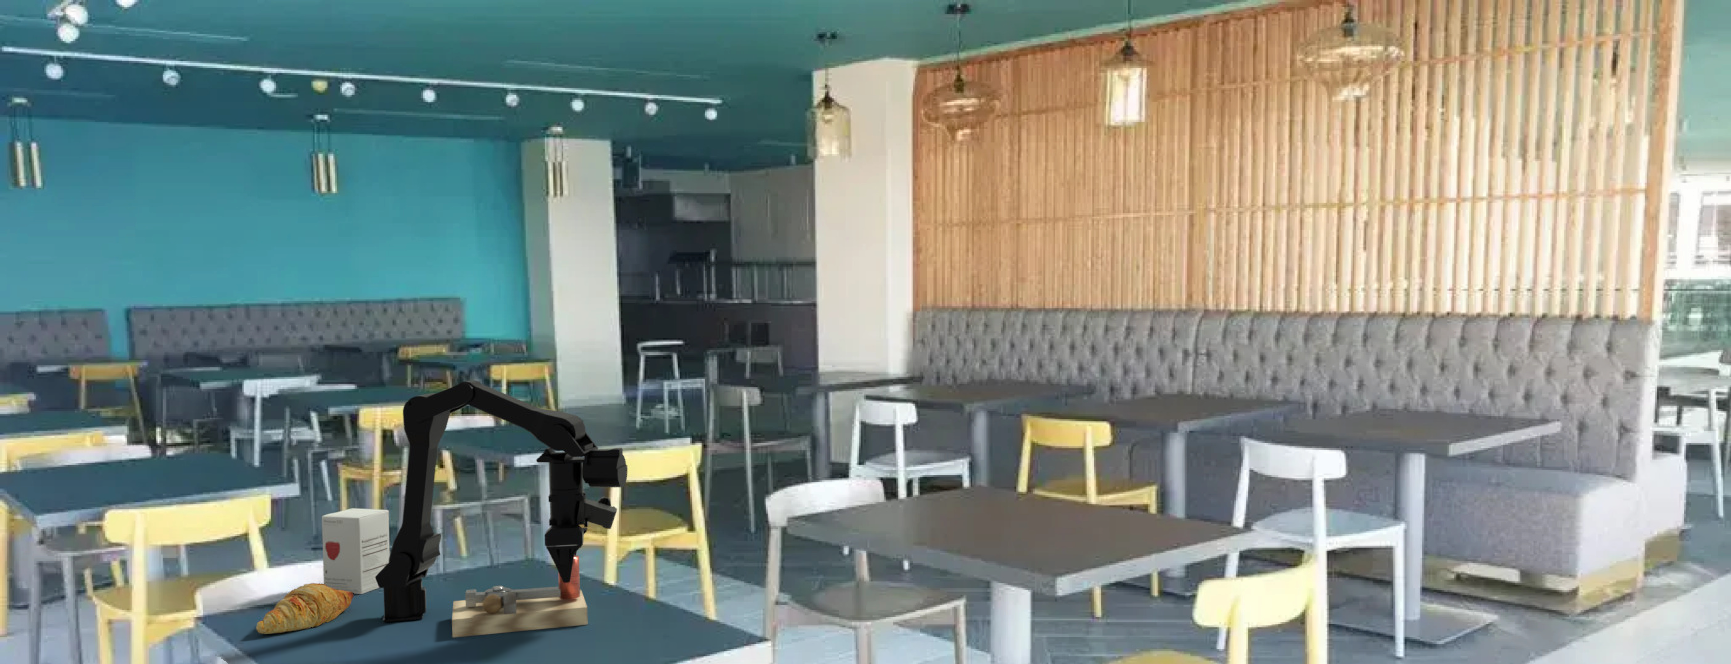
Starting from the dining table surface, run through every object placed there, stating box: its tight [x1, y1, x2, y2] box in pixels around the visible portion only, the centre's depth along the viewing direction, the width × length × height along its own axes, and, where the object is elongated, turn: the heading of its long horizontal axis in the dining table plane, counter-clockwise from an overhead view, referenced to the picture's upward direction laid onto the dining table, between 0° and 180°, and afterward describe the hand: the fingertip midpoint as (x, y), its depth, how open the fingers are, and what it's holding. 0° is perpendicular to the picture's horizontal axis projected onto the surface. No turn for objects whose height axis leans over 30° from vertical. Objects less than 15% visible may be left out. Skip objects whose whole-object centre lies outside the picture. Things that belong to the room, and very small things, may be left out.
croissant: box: [256, 582, 355, 635], centre depth 215 cm, size 21×10×8 cm, turn 161°
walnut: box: [483, 594, 502, 614], centre depth 207 cm, size 3×3×3 cm
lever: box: [465, 554, 581, 607], centre depth 213 cm, size 19×4×7 cm, turn 103°
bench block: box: [451, 589, 589, 638], centre depth 213 cm, size 22×13×6 cm, turn 108°
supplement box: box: [321, 507, 390, 595], centre depth 240 cm, size 9×9×15 cm
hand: (568, 576), depth 214 cm, fingers open, 9 cm apart
